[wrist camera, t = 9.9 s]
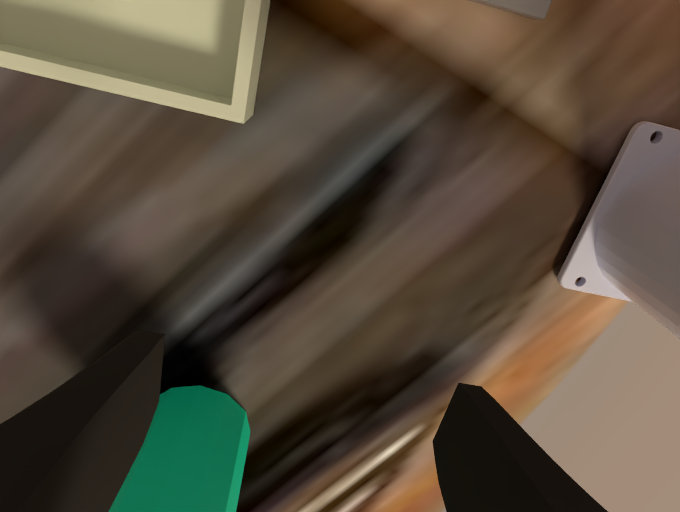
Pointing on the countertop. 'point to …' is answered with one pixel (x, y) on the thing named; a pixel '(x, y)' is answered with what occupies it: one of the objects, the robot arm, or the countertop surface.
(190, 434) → the candle
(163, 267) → the countertop surface
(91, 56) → the tray
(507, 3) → the fuse holder
